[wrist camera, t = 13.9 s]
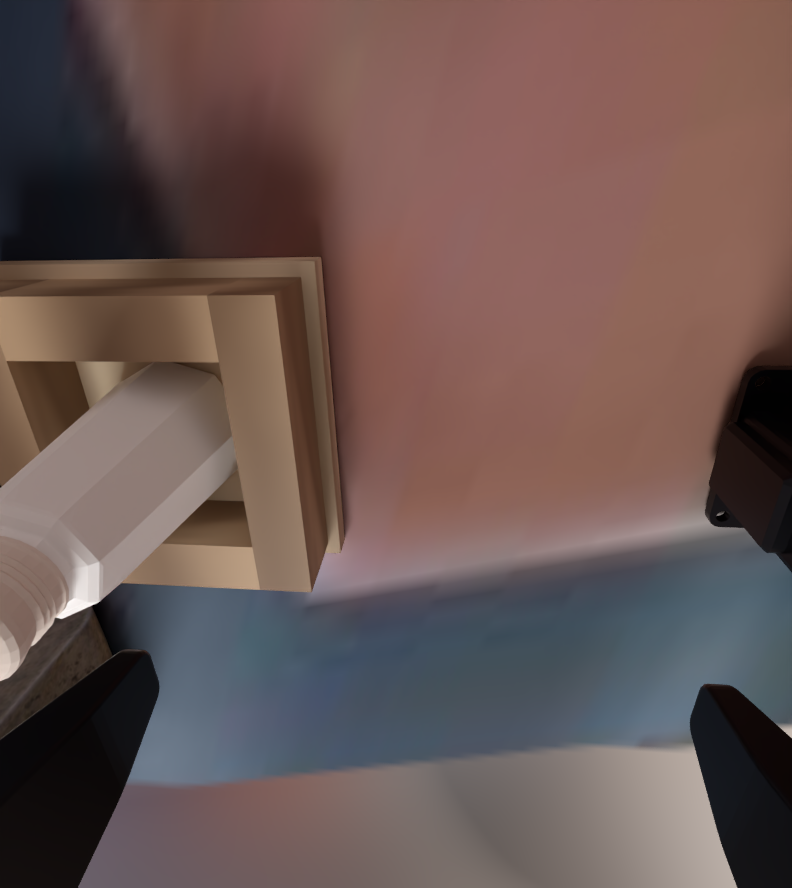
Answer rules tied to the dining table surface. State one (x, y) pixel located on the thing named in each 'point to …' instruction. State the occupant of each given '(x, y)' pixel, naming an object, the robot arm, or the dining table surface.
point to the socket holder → (203, 348)
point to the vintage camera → (53, 667)
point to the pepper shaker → (107, 497)
